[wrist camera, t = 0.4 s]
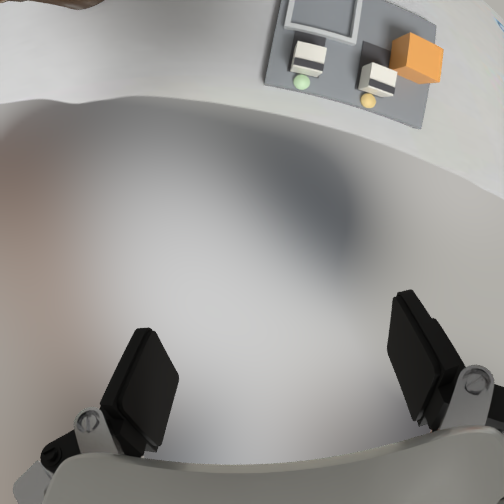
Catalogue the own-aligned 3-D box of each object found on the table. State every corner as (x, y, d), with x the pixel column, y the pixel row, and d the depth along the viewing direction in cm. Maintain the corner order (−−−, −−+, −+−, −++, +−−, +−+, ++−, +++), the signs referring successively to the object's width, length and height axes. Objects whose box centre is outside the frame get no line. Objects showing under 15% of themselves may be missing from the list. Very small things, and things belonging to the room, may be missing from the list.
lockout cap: (423, 54, 24) (443, 49, 20) (418, 84, 26) (439, 82, 22) (392, 40, 24) (410, 32, 20) (388, 71, 26) (405, 66, 22)
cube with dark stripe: (385, 74, 26) (398, 71, 23) (381, 97, 28) (393, 96, 24) (362, 66, 26) (373, 61, 23) (358, 89, 27) (368, 86, 24)
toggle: (320, 54, 26) (327, 47, 23) (316, 77, 27) (322, 72, 24) (294, 48, 26) (298, 40, 22) (289, 71, 27) (293, 65, 24)
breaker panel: (429, 28, 24) (440, 23, 21) (413, 128, 31) (425, 130, 28) (286, -21, 23) (287, -31, 20) (264, 85, 30) (264, 82, 27)
